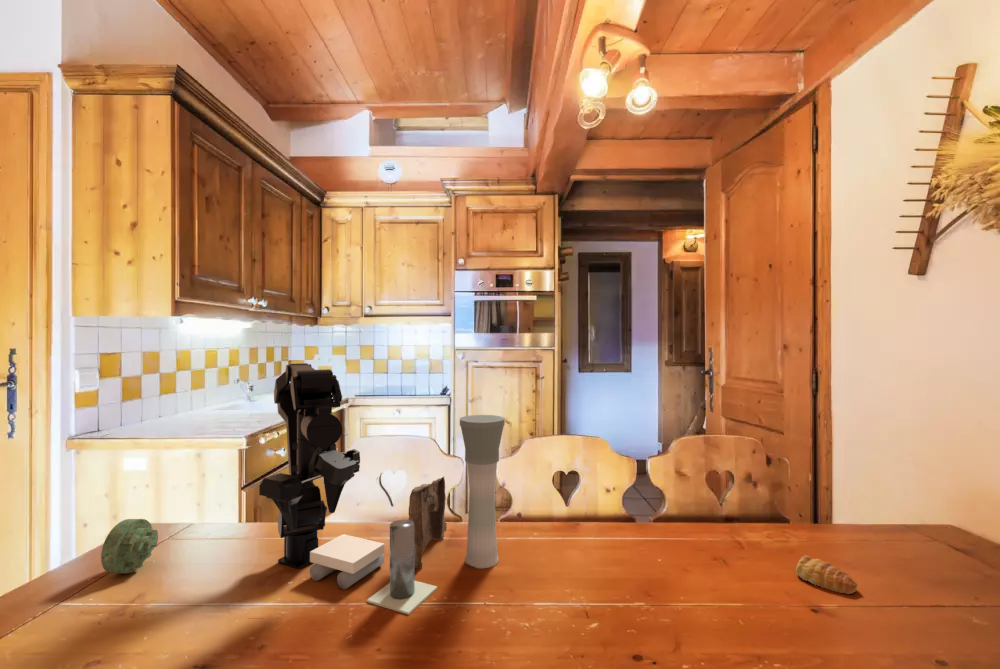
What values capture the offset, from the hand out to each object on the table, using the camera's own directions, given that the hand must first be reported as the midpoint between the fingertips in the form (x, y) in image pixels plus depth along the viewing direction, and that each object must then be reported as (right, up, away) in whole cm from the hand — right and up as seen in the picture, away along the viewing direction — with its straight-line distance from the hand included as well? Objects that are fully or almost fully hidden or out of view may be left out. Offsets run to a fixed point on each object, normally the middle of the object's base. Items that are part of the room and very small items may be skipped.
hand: (313, 521), depth 86 cm
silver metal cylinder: (+17, -13, -1) cm, 21 cm away
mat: (+17, -13, -1) cm, 21 cm away
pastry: (+98, -14, +4) cm, 99 cm away
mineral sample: (+19, -13, +17) cm, 28 cm away
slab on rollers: (+4, -13, +7) cm, 15 cm away
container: (+31, -13, +12) cm, 36 cm away
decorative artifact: (-38, -13, +8) cm, 41 cm away
